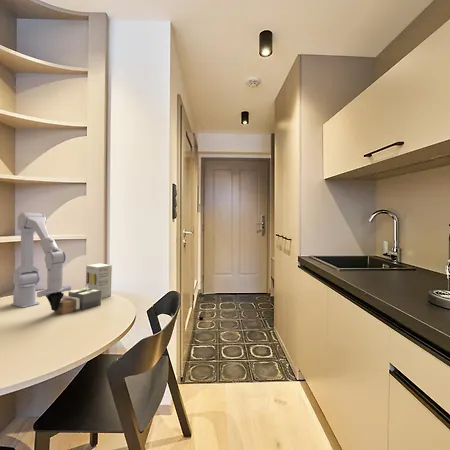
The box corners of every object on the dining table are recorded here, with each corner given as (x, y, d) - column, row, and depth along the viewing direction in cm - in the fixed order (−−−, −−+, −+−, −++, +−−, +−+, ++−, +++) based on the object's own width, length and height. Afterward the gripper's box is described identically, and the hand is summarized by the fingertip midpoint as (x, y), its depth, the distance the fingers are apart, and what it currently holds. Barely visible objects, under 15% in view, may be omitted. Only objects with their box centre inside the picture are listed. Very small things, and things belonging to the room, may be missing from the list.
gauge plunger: (76, 309, 140) (76, 289, 140) (61, 306, 145) (61, 287, 145) (95, 303, 150) (96, 285, 150) (81, 300, 154) (81, 282, 154)
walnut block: (54, 312, 139) (54, 301, 139) (64, 309, 144) (64, 298, 144) (63, 314, 137) (63, 303, 137) (73, 311, 141) (73, 300, 141)
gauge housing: (83, 310, 144) (83, 294, 143) (68, 306, 148) (68, 291, 148) (100, 304, 153) (101, 289, 152) (86, 301, 157) (86, 287, 157)
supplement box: (84, 296, 166) (85, 265, 165) (99, 293, 174) (100, 263, 173) (97, 299, 161) (97, 266, 161) (111, 295, 169) (112, 264, 169)
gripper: (44, 283, 128) (44, 316, 128) (75, 277, 141) (75, 307, 141) (33, 280, 131) (33, 313, 131) (65, 275, 144) (65, 304, 144)
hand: (54, 310), depth 136 cm, fingers closed
